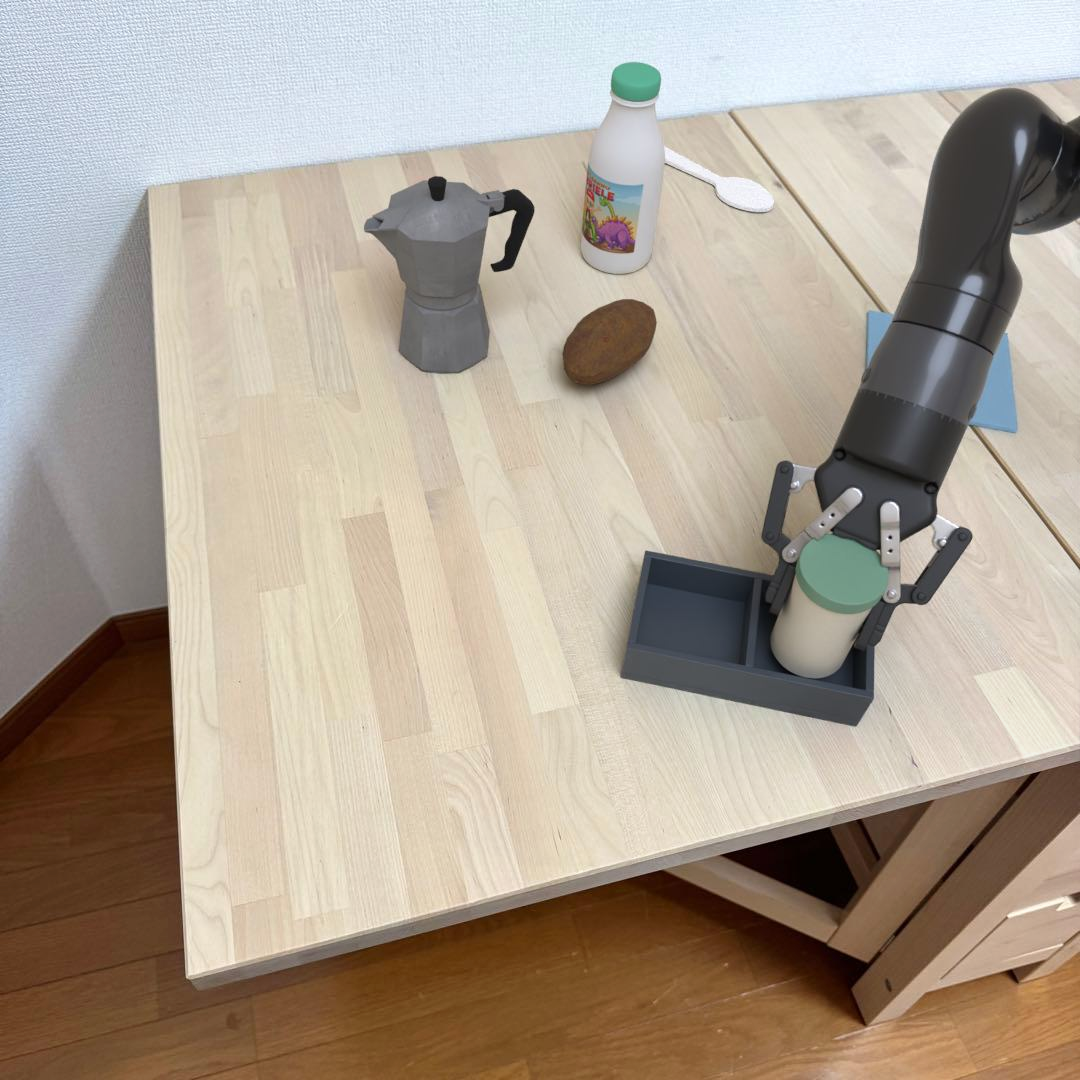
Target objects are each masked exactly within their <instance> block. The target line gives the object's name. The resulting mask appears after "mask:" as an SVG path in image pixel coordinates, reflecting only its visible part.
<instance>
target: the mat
mask: <svg viewBox="0 0 1080 1080" xmlns="http://www.w3.org/2000/svg"><path fill="white" fill-rule="evenodd" d="M893 316H894V313H890V312H884V311H883V312H882V311H877V310H872V309H869V310H868V311H867V319H866V320H867V321H866V323H867V325H866V360H865V361H866V367H865V370H866V369H867V368H868V365H869V363H870V360H871V358H872V356H873V354H874V352H875V350H876V348H877V346H878V345H879V343H880V341H881V340H882V338H883V336H884V335H885V333H886V331H887V329H888V327H889V325H890V323H892V322H891V320H892V318H893ZM993 357H994V358H993V361H992V364H991V366H990V370H989V373H988V377H987V380H986V384H985V387H984V390H983V393H982V395H981V398H980V400H979V402H978V404H977V410H976V413H975V415H974V417H973V418H972V419H971V421H970V422H969V425H968V426H975V427H978V428H979V427H980V428H985V429H991V430H996V431H1002V432H1009V433H1015V434H1016V433H1017V432H1018V430H1019V425H1018V417H1017V415H1018V414H1017V407H1016V399H1015V397H1016V396H1015V389H1014V379H1013V370H1012V363H1011V362H1012V361H1011V353H1010V344H1009V333H1007V332H1005V333H1004V336H1003V338H1002V340H1001V342H1000V345H999V347H998V349H997V351H996V354H995V356H993Z"/></svg>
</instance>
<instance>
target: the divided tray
mask: <svg viewBox="0 0 1080 1080" xmlns="http://www.w3.org/2000/svg"><path fill="white" fill-rule="evenodd" d="M773 575H774V574H769V573H765V572H764V573H763V572H760V571H759V572H758V571H754V570H749V569H743V568H739V567H733V566H728V565H723V564H718V563H712V562H708V561H703V560H697V559H692V558H687V557H683V556H677V555H671V554H667V553H661V552H656V551H650V550H645V551H644V554H643V559H642V564H641V570H640V574H639V579H638V583H637V589H636V594H635V599H634V603H633V604H634V606H633V610H632V614H631V621H630V625H629V631H628V637H627V641H626V646H625V651H624V657H623V663H622V667H621V672H620V678H621V679H626V680H631V681H635V682H641V683H645V684H650V685H655V686H659V687H663V688H668V689H674V690H678V691H682V692H683V691H684V692H687V693H694V694H697V695H702V696H708V697H712V698H717V699H721V700H725V701H731V702H736V703H741V704H745V705H750V706H756V707H760V708H765V709H769V710H775V711H779V712H784V713H790V714H793V715H798V716H803V717H808V718H813V719H818V720H822V721H827V722H832V723H837V724H842V725H847V726H852V727H858V725H859V723H860V722H861V720H862V719H863V717H864V716H865V714H866V712H867V711H868V710H869V708H870V706H871V704H872V703H873V701H874V699H875V653H876V652H875V650H876V649H875V648H876V646H875V647H874V646H872V645H869V644H867V647H866V649H865V651H862V650H859V649H857V648H855V647H854V644H855V641H856V639H857V638H856V639H855V641H854V643H853V645H852V647H851V649H850V651H849V653H848V654H847V656H846V658H845V660H844V662H843V664H842V665H841V667H840V668H839V669H838V670H837V671H836V672H835V673H833V674H831V675H829V676H827V677H823V678H805V677H801V676H799V675H796V674H794V673H792V672H790V671H789V670H787V669H786V668H785V667H783V666H782V665H781V664H780V663H779V661H778V660H777V659H776V657H775V656H774V654H773V651H772V648H771V643H770V638H771V633H772V631H773V628H774V626H775V623H776V621H777V618H778V616H779V615H775V614H773V613H771V612H769V610H770V608H771V606H772V604H771V603H768V602H766V592H767V589H768V587H769V585H770V582H771V580H772V577H773Z"/></svg>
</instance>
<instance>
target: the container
mask: <svg viewBox="0 0 1080 1080" xmlns="http://www.w3.org/2000/svg"><path fill="white" fill-rule="evenodd" d="M888 582H889V573H888V568H884V567H882V566H881V555H880V552H879V551H878V550H873V549H871V548H868V547H866V546H864V545H863V544H861V543H860V542H859V541H857V540H856V539H850V538H843V537H840V536H838V535H835V534H833V532H831V533H826V534H825V535H824V536H823V537H822V538H821V539H820V540H819V541H816V540H814V539H812V540H811V541H809V542H808V543H807V544H806V545H805V546H804V548H803V549H802V551H801V554H800V556H799V559H798V561H797V564H796V574H795V577H794V580H793V582H792V584H791V587H790V589H789V592H788V594H787V597H786V599H785V602H784V604H783V606H782V609H781V611H780V613H779V616H778V618H777V621H776V623H775V626H774V628H773V631H772V633H771V638H770V643H771V648H772V651H773V654H774V656H775V657H776V659H777V660H778V661H779V663H780V664H781V665H782V666H783V667H785V668H786V669H787V670H789V671H790V672H792V673H794V674H796V675H799V676H801V677H805V678H823V677H827V676H829V675H831V674H833V673H835V672H836V671H837V670H838V669H839V668H840V667H841V665H842V664H843V662H844V660H845V658H846V656H847V654H848V653H849V651H850V649H851V647H852V645H853V643H854V641H855V639H856V638H857V636H858V634H859V632H860V630H861V628H862V626H863V624H864V622H865V621H866V619H867V617H868V615H869V613H870V611H871V609H872V607H874V606H875V605H876V604H877V603H878V602H879V600H880V599H881V597H882V595H883V594H884V592H885V590H886V588H887V585H888Z"/></svg>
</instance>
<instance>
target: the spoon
mask: <svg viewBox="0 0 1080 1080" xmlns="http://www.w3.org/2000/svg"><path fill="white" fill-rule="evenodd" d="M664 148H665V164H667V165H669V166H672V168H675V169H678V170H680V171H682V172H684V173H686V174H689V175H691V176H693V177H695V178H696V179H697V178H698V179H699V180H702V181H703V182H706V183H708V184H710V185H712V186H713V187H714V191H715V194H716V195H717V197H718V199H720V200H721V201H722V202H724V203H725V204H726V205H728V206H731V207H733V208H736V209H739V210H741V211H746V212H751V213H766V212H770V211H772V209H773V208H774V205H775V199H774V196H773V195H772V193H771V192H770V191H769V189H766V187H764V185H761V184H760V183H757V182H756V181H753V180H752V179H750V178H749V179H748V178H746V177H740V176H730V177H724V176H721V175H718V174H716V173H714V172H712V171H711V170H710V169H709V168H708V169H707V168H705V167H703V166H702V165H700V164H699V163H695V162H694V161H693V160H690V159H689V158H687V157H685V156H684V155H681V154H680V153H678V152H676V151H675V150H672V149H670V148H669V147H667V146H666V145H664Z"/></svg>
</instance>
